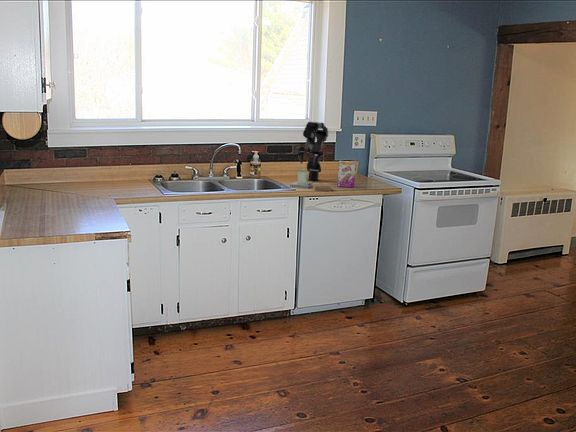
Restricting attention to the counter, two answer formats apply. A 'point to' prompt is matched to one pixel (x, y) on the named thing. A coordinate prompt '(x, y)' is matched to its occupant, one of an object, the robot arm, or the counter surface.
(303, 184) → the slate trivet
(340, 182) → the candy bar box
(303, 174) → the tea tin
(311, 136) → the robot arm
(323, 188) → the tan flat block
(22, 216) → the counter surface
